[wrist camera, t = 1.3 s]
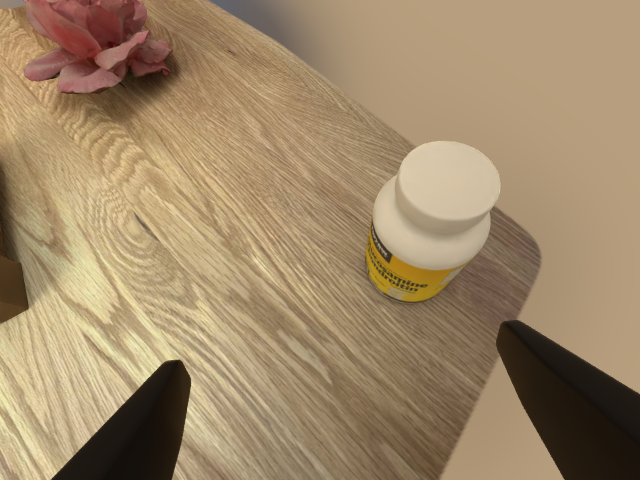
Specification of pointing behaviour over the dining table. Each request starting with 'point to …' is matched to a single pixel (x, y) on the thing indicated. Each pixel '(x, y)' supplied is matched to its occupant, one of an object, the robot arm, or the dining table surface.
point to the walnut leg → (10, 286)
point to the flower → (94, 44)
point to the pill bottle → (430, 220)
